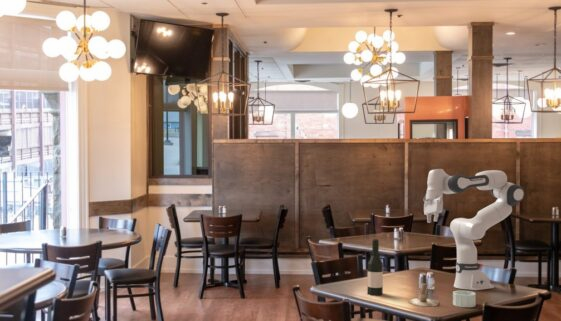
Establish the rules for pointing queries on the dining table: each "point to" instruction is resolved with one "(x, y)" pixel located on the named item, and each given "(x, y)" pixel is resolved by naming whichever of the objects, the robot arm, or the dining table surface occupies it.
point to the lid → (423, 298)
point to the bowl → (464, 298)
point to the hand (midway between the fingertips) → (432, 222)
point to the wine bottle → (375, 271)
